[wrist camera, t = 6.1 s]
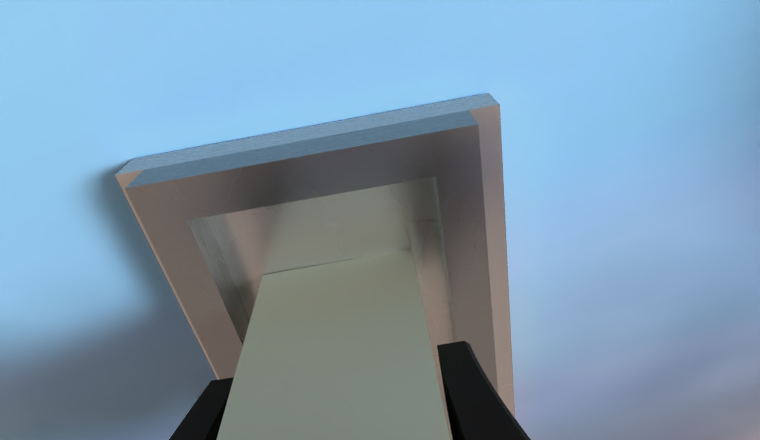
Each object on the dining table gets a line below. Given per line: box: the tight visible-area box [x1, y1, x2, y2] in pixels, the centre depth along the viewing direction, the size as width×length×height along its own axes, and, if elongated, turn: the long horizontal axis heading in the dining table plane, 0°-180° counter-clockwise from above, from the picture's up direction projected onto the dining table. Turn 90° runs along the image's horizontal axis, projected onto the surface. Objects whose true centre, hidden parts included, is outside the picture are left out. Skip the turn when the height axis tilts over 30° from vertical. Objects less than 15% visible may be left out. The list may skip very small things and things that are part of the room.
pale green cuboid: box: [217, 249, 450, 440], centre depth 11 cm, size 4×4×6 cm
